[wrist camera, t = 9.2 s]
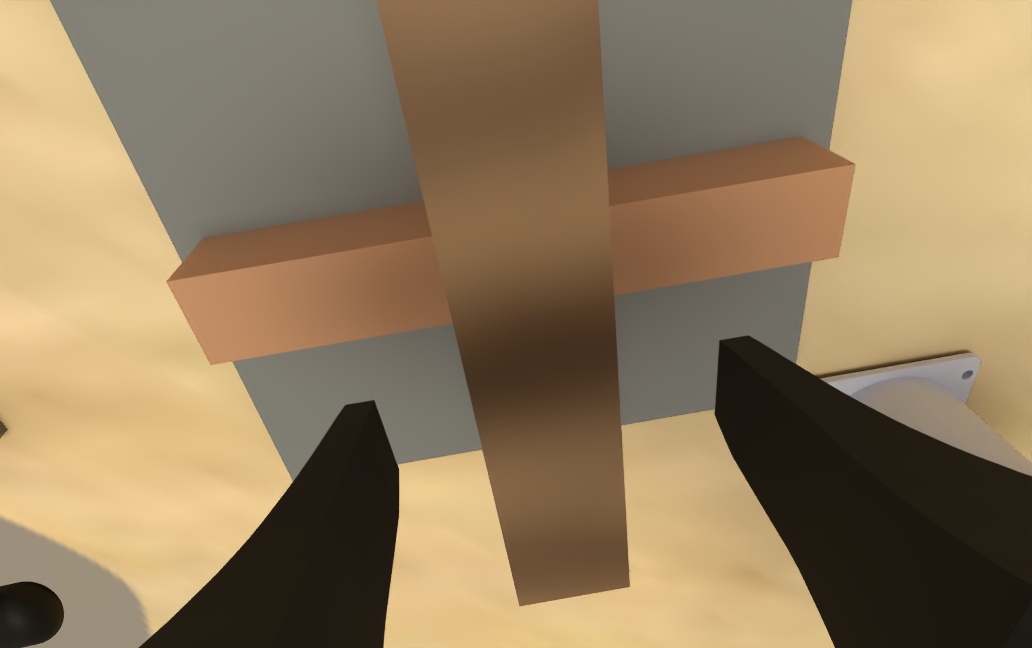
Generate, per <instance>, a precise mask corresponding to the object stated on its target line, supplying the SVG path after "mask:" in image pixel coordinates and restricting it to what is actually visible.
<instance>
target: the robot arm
mask: <svg viewBox="0 0 1032 648" xmlns="http://www.w3.org/2000/svg"><path fill="white" fill-rule="evenodd" d="M980 364H981V359H980V358H979V357H978V356H976V355H975V354H973V353H964V354H958V355H953V356H947V357H941V358H935V359H930V360H924V361H918V362H912V363H907V364H901V365H895V366H889V367H884V368H878V369H872V370H866V371H861V372H855V373H849V374H843V375H838V376H832V377H826V378H818V377H816V376H815V375H813V374H811V373H810V372H808V371H806V370H805V369H803V368H801V367H800V366H798V365H797V364H795V363H793V362H792V361H790V360H788V359H787V358H785V357H784V356H782V355H780V354H779V353H777V352H776V351H774V350H772V349H771V348H769V347H768V346H766V345H764V344H763V343H761V342H759V341H758V340H756V339H754V338H752V337H751V336H749V335H747V336H741V337H735V338H730V339H724V340H719V354H718V370H717V385H716V401H715V417H716V419H717V421H718V424H719V426H720V429H721V431H722V433H723V436H724V438H725V440H726V443H727V445H728V447H729V449H730V452H731V454H732V456H733V458H734V460H735V461H736V463H737V465H738V467H739V468H740V470H741V472H742V473H743V475H744V477H745V478H746V480H747V482H748V484H749V485H750V487H751V489H752V490H753V492H754V494H755V495H756V497H757V499H758V500H759V502H760V504H761V505H762V507H763V509H764V510H765V512H766V514H767V515H768V517H769V518H770V520H771V522H772V523H773V525H774V527H775V528H776V530H777V532H778V533H779V535H780V537H781V538H782V540H783V542H784V543H785V545H786V547H787V548H788V550H789V552H790V554H791V556H792V558H793V559H794V561H795V563H796V565H797V567H798V569H799V571H800V573H801V575H802V577H803V579H804V581H805V583H806V585H807V587H808V590H809V592H810V594H811V596H812V598H813V600H814V602H815V604H816V607H817V609H818V611H819V613H820V615H821V617H822V619H823V622H824V624H825V626H826V628H827V631H828V633H829V635H830V637H831V640H832V642H833V644H834V646H835V648H1032V463H1031V462H1030V461H1029V460H1028V459H1027V458H1026V457H1025V456H1023V455H1022V454H1021V453H1020V452H1019V451H1018V450H1017V449H1015V448H1014V447H1013V446H1012V445H1011V444H1010V443H1009V442H1007V441H1006V440H1005V439H1004V438H1003V437H1002V436H1001V435H999V434H998V433H997V432H996V431H995V430H994V429H993V428H991V427H990V426H989V425H988V424H987V423H986V422H985V421H983V420H982V419H981V418H980V417H979V416H978V415H977V414H975V413H974V412H973V411H972V410H971V409H970V408H969V407H967V406H966V405H965V404H966V402H967V399H968V396H969V394H970V391H971V388H972V386H973V383H974V380H975V378H976V375H977V372H978V369H979V367H980ZM398 519H399V468H398V465H397V462H396V459H395V457H394V454H393V451H392V448H391V445H390V443H389V440H388V437H387V434H386V431H385V428H384V426H383V423H382V420H381V417H380V414H379V412H378V409H377V406H376V403H375V400H371V401H365V402H359V403H353V404H347V405H345V406H344V407H343V409H342V410H341V411H340V413H339V414H338V416H337V417H336V419H335V420H334V422H333V423H332V425H331V426H330V428H329V429H328V431H327V432H326V434H325V436H324V437H323V439H322V440H321V442H320V443H319V445H318V446H317V448H316V449H315V451H314V452H313V454H312V455H311V457H310V458H309V459H308V461H307V462H306V464H305V465H304V467H303V468H302V470H301V471H300V472H299V474H298V475H297V477H296V478H295V480H294V481H293V482H292V484H291V485H290V487H289V488H288V489H287V491H286V492H285V493H284V495H283V496H282V497H281V499H280V500H279V501H278V503H277V504H276V505H275V506H274V508H273V509H272V510H271V512H270V513H269V514H268V516H267V517H266V518H265V519H264V521H263V522H262V523H261V525H260V526H259V527H258V528H257V529H256V531H255V532H254V533H253V534H252V535H251V537H250V538H249V539H248V540H247V541H246V542H245V544H244V545H243V546H242V547H241V548H240V549H239V550H238V551H237V552H236V554H235V555H234V556H233V557H232V558H231V559H230V560H229V561H228V562H227V563H226V565H225V566H224V567H223V568H222V569H221V570H220V571H219V572H218V573H217V574H216V575H215V576H214V577H213V578H212V579H211V580H210V581H209V582H208V583H207V584H206V585H205V586H204V587H203V588H202V589H201V590H200V591H199V592H198V593H197V594H196V595H195V596H194V597H193V598H192V599H191V600H190V601H189V602H188V603H187V604H186V605H185V606H184V607H183V608H182V609H181V610H180V611H178V612H177V613H176V614H175V615H174V616H173V617H172V618H171V619H170V620H169V621H168V622H167V623H166V624H165V625H164V626H162V627H161V628H160V629H159V630H158V631H157V632H156V633H155V634H154V635H152V636H151V637H150V638H149V639H148V640H147V641H146V642H145V643H144V644H142V645H141V646H140V647H139V648H383V645H384V632H385V621H386V613H387V605H388V597H389V590H390V582H391V574H392V567H393V559H394V551H395V543H396V535H397V527H398Z"/></svg>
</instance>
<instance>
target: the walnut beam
mask: <svg viewBox="0 0 1032 648" xmlns="http://www.w3.org/2000/svg"><path fill="white" fill-rule="evenodd" d="M376 1H377V6H378V10H379V14H380V18H381V23H382V27H383V31H384V35H385V39H386V44H387V48H388V52H389V56H390V61H391V65H392V69H393V73H394V78H395V82H396V86H397V90H398V94H399V99H400V103H401V107H402V111H403V116H404V120H405V124H406V128H407V132H408V137H409V141H410V145H411V149H412V154H413V158H414V162H415V166H416V170H417V175H418V179H419V183H420V187H421V192H422V196H423V200H424V204H425V209H426V213H427V217H428V221H429V225H430V230H431V234H432V238H433V242H434V247H435V251H436V255H437V259H438V263H439V268H440V272H441V276H442V280H443V285H444V289H445V293H446V297H447V302H448V306H449V310H450V314H451V318H452V323H453V327H454V331H455V335H456V340H457V344H458V348H459V352H460V356H461V361H462V365H463V369H464V373H465V378H466V382H467V386H468V390H469V394H470V399H471V403H472V407H473V411H474V416H475V420H476V424H477V428H478V433H479V437H480V441H481V445H482V449H483V454H484V458H485V462H486V466H487V471H488V475H489V479H490V483H491V487H492V492H493V496H494V500H495V504H496V509H497V513H498V517H499V521H500V526H501V530H502V534H503V538H504V542H505V547H506V551H507V555H508V559H509V564H510V568H511V572H512V576H513V580H514V585H515V589H516V593H517V597H518V602H519V606H524V605H530V604H535V603H541V602H547V601H552V600H558V599H564V598H569V597H575V596H581V595H586V594H592V593H598V592H603V591H609V590H614V589H620V588H626V587H630V581H629V563H628V544H627V525H626V507H625V488H624V469H623V451H622V432H621V414H620V395H619V376H618V358H617V339H616V320H615V302H614V283H613V265H612V246H611V227H610V209H609V190H608V171H607V153H606V134H605V115H604V97H603V78H602V60H601V41H600V22H599V4H598V0H376Z"/></svg>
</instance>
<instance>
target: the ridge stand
mask: <svg viewBox="0 0 1032 648" xmlns="http://www.w3.org/2000/svg"><path fill="white" fill-rule="evenodd" d="M50 1H51V3H52V5H53V7H54V9H55V11H56V13H57V15H58V17H59V19H60V21H61V23H62V25H63V27H64V29H65V31H66V33H67V35H68V37H69V39H70V41H71V43H72V45H73V47H74V49H75V51H76V53H77V55H78V57H79V59H80V61H81V63H82V65H83V67H84V69H85V71H86V73H87V75H88V77H89V79H90V80H91V82H92V84H93V86H94V88H95V90H96V92H97V94H98V96H99V98H100V100H101V102H102V104H103V106H104V108H105V110H106V112H107V114H108V116H109V118H110V120H111V122H112V124H113V126H114V128H115V130H116V132H117V134H118V136H119V138H120V140H121V142H122V144H123V146H124V148H125V150H126V152H127V154H128V156H129V158H130V160H131V162H132V164H133V166H134V168H135V170H136V172H137V173H138V175H139V177H140V179H141V181H142V183H143V185H144V187H145V189H146V191H147V193H148V195H149V197H150V199H151V201H152V203H153V205H154V207H155V209H156V211H157V213H158V215H159V217H160V219H161V221H162V223H163V225H164V227H165V229H166V231H167V233H168V235H169V237H170V239H171V241H172V243H173V245H174V247H175V249H176V251H177V253H178V255H179V257H180V259H181V261H182V264H181V265H180V266H179V267H178V269H177V270H176V271H175V272H174V273H173V274H172V276H171V277H170V278H169V279H168V280H167V284H168V286H169V287H170V289H171V291H172V293H173V295H174V297H175V299H176V301H177V302H178V304H179V306H180V308H181V310H182V312H183V314H184V316H185V317H186V319H187V321H188V323H189V325H190V327H191V329H192V331H193V332H194V334H195V336H196V338H197V340H198V342H199V344H200V346H201V347H202V349H203V351H204V353H205V355H206V357H207V359H208V361H209V362H210V364H211V365H213V364H219V363H225V362H231V361H233V363H234V365H235V367H236V369H237V371H238V373H239V375H240V377H241V379H242V381H243V383H244V385H245V387H246V389H247V391H248V393H249V395H250V397H251V399H252V401H253V403H254V405H255V407H256V409H257V411H258V413H259V415H260V417H261V419H262V421H263V423H264V425H265V427H266V429H267V431H268V433H269V435H270V437H271V439H272V441H273V443H274V445H275V447H276V449H277V450H278V452H279V454H280V456H281V458H282V460H283V462H284V464H285V466H286V468H287V470H288V472H289V474H290V476H291V478H292V480H293V481H294V480H295V478H296V477H297V475H298V474H299V472H300V471H301V470H302V468H303V467H304V465H305V464H306V462H307V461H308V459H309V458H310V457H311V455H312V454H313V452H314V451H315V449H316V448H317V446H318V445H319V443H320V442H321V440H322V439H323V437H324V436H325V434H326V432H327V431H328V429H329V428H330V426H331V425H332V423H333V422H334V420H335V419H336V417H337V416H338V414H339V413H340V411H341V410H342V409H343V407H344V406H345V405H347V404H353V403H359V402H365V401H371V400H375V403H376V406H377V409H378V412H379V414H380V417H381V420H382V423H383V426H384V428H385V431H386V434H387V437H388V440H389V443H390V445H391V448H392V451H393V454H394V457H395V459H396V462H397V464H402V463H408V462H413V461H419V460H425V459H431V458H436V457H442V456H448V455H454V454H459V453H465V452H471V451H477V450H482V445H481V441H480V437H479V433H478V428H477V424H476V420H475V416H474V411H473V407H472V403H471V399H470V394H469V390H468V386H467V382H466V378H465V373H464V369H463V365H462V361H461V356H460V352H459V348H458V344H457V340H456V335H455V331H454V327H453V323H452V318H451V314H450V310H449V306H448V302H447V297H446V293H445V289H444V285H443V280H442V276H441V272H440V268H439V263H438V259H437V255H436V251H435V247H434V242H433V238H432V234H431V230H430V225H429V221H428V217H427V213H426V209H425V204H424V200H423V196H422V192H421V187H420V183H419V179H418V175H417V170H416V166H415V162H414V158H413V154H412V149H411V145H410V141H409V137H408V132H407V128H406V124H405V120H404V116H403V111H402V107H401V103H400V99H399V94H398V90H397V86H396V82H395V78H394V73H393V69H392V65H391V61H390V56H389V52H388V48H387V44H386V39H385V35H384V31H383V27H382V23H381V18H380V14H379V10H378V6H377V1H376V0H50ZM598 4H599V22H600V41H601V60H602V78H603V97H604V115H605V134H606V153H607V171H608V190H609V209H610V227H611V246H612V265H613V283H614V302H615V320H616V339H617V358H618V376H619V395H620V414H621V425H626V424H632V423H637V422H643V421H649V420H655V419H660V418H666V417H672V416H678V415H683V414H689V413H695V412H700V411H706V410H712V409H715V401H716V385H717V370H718V354H719V340H724V339H730V338H735V337H741V336H747V335H749V336H751V337H752V338H754V339H756V340H758V341H759V342H761V343H763V344H764V345H766V346H768V347H769V348H771V349H772V350H774V351H776V352H777V353H779V354H780V355H782V356H784V357H785V358H787V359H788V360H790V361H792V362H793V363H795V364H796V359H797V352H798V346H799V340H800V333H801V327H802V320H803V314H804V307H805V301H806V295H807V288H808V282H809V275H810V269H811V262H812V261H818V260H824V259H830V258H835V257H839V251H840V246H841V240H842V235H843V229H844V224H845V218H846V213H847V207H848V202H849V197H850V191H851V186H852V180H853V175H854V169H855V164H854V163H852V162H850V161H848V160H846V159H845V158H843V157H841V156H839V155H837V154H835V153H833V152H831V151H829V147H830V140H831V134H832V127H833V121H834V114H835V108H836V102H837V95H838V89H839V82H840V76H841V69H842V63H843V57H844V50H845V44H846V37H847V31H848V24H849V18H850V12H851V5H852V0H598Z"/></svg>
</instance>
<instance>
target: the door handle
mask: <svg viewBox="0 0 1032 648" xmlns="http://www.w3.org/2000/svg"><path fill="white" fill-rule="evenodd" d="M7 430H8V429H7V428H6V427H5V426H4V425H3V423H2V422H1V421H0V438H1V437H2V436H3V434H4V433H5V432H6V431H7ZM63 619H64V610H63V606H62V603H61V601H60V599H59V598H58V596H57V595H56V594H55V593H54V592H53V591H52V590H51V589H49V588H48V587H46V586H44V585H42V584H39V583H35V582H18V583H14V584H9V585H4V586H0V648H22V647H27V646H31V645H36V644H40V643H43V642H45V641H47V640H49V639H51V638H52V637H53V636H54V635H55V634H56V633H57V632H58V631H59V629H60V628H61V625H62V623H63Z"/></svg>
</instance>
